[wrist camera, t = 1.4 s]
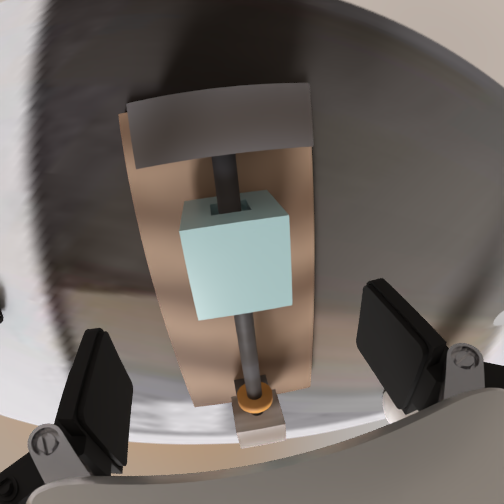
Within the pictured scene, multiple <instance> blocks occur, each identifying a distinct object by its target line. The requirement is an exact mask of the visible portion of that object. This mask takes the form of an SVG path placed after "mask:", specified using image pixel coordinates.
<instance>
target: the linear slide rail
mask: <svg viewBox="0 0 504 504" xmlns="http://www.w3.org/2000/svg"><path fill="white" fill-rule="evenodd" d="M126 106H127V112H126V113H122V114H118V115H119V123H120V130H121V137H122V143H123V150H124V156H125V162H126V167H127V173H128V178H129V184H130V189H131V194H132V199H133V203H134V208H135V213H136V217H137V222H138V226H139V230H140V235H141V239H142V243H143V247H144V251H145V255H146V259H147V263H148V267H149V270H150V274H151V278H152V281H153V285H154V288H155V292H156V295H157V299H158V302H159V306H160V309H161V312H162V315H163V319H164V322H165V325H166V328H167V331H168V334H169V337H170V340H171V343H172V346H173V349H174V352H175V355H176V358H177V361H178V364H179V367H180V369H181V372H182V375H183V378H184V380H185V383H186V386H187V388H188V391H189V393H190V396H191V399H192V401H193V404H194V406H195V407H199V406H208V405H215V404H223V403H230V402H232V407H233V413H234V420H235V426H236V432H237V436H238V440H239V443H240V447H241V448H247V447H253V446H259V445H264V444H270V443H275V442H280V441H285V440H286V425H285V421H284V417H283V414H282V410H281V407H280V404H279V400H278V397H277V394H280V393H285V392H290V391H294V390H299V389H303V388H307V387H310V382H311V365H312V344H313V316H314V197H313V169H312V148H311V147H313V146H314V139H313V123H312V109H311V96H310V84H309V83H275V84H256V85H243V86H231V87H222V88H213V89H205V90H197V91H190V92H184V93H177V94H171V95H166V96H160V97H155V98H150V99H145V100H140V101H136V102H131V103H127V104H126ZM260 190H268V192H269V193H270V194H271V195H272V196H273V197H274V198H275V200H276V201H277V202H278V203H279V204H280V205H281V206H282V208H283V209H284V210H285V211H286V212H287V213H288V215H289V223H290V245H291V272H292V305H290V306H285V307H279V308H274V309H268V310H263V311H257V312H251V313H245V314H239V315H233V316H226V317H220V318H213V319H206V320H199V321H198V317H197V312H196V308H195V304H194V300H193V295H192V291H191V286H190V282H189V277H188V272H187V268H186V263H185V258H184V253H183V248H182V243H181V238H180V233H179V229H180V223H181V217H182V211H183V206H184V201H189V200H196V199H202V198H209V197H217V204H218V212H219V214H225V213H232V212H239V211H242V210H241V201H240V193H245V192H252V191H260Z"/></svg>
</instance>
